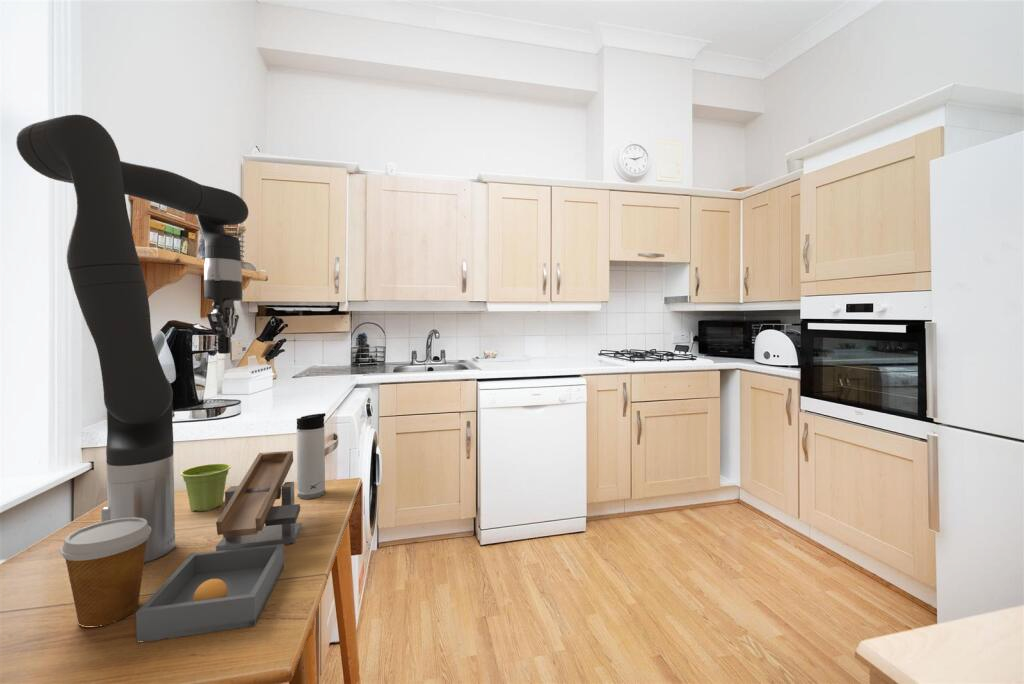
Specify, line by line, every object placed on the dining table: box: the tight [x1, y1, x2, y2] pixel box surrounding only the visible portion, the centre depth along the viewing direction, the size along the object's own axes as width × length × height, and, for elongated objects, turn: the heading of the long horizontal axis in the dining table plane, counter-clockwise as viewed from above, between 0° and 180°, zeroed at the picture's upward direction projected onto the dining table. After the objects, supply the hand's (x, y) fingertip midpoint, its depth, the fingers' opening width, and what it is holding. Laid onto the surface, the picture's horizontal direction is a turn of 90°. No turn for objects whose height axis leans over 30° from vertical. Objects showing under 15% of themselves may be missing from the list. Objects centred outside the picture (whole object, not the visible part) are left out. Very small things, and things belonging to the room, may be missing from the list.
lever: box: [215, 450, 301, 539], centre depth 86 cm, size 11×24×5 cm, turn 14°
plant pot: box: [180, 463, 232, 512], centre depth 102 cm, size 9×9×9 cm
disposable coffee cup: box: [59, 517, 151, 626], centre depth 63 cm, size 10×10×12 cm
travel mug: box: [296, 413, 326, 500], centre depth 109 cm, size 6×7×20 cm
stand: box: [215, 481, 303, 551], centre depth 86 cm, size 13×7×10 cm, turn 104°
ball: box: [193, 579, 227, 602], centre depth 63 cm, size 4×4×4 cm
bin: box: [135, 544, 285, 643], centre depth 66 cm, size 14×16×4 cm
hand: (224, 353), depth 105 cm, fingers closed
